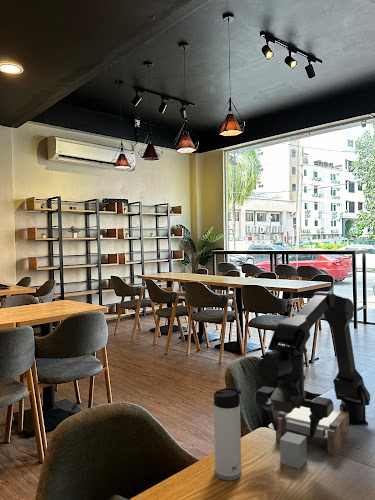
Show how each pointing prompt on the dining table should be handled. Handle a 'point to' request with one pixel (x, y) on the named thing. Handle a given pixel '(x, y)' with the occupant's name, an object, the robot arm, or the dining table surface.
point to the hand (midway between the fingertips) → (293, 434)
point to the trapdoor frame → (335, 432)
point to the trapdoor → (308, 421)
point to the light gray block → (293, 450)
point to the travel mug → (227, 433)
